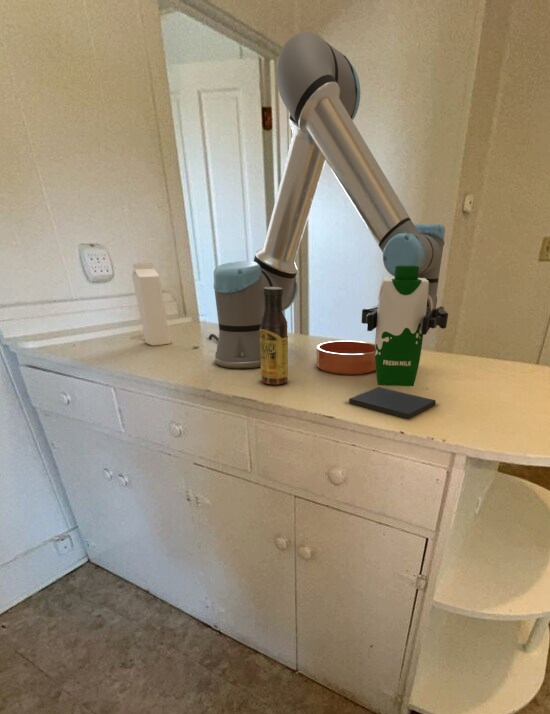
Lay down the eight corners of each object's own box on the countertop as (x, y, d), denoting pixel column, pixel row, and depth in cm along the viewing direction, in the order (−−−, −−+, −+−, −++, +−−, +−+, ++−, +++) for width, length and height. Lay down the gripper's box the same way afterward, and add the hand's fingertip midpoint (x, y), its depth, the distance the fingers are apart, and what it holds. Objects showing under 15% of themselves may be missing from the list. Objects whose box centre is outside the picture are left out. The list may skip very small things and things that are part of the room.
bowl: (304, 367, 112) (303, 347, 109) (342, 356, 122) (342, 338, 120) (354, 379, 103) (355, 357, 100) (390, 366, 114) (392, 346, 111)
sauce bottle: (256, 382, 100) (249, 287, 89) (275, 377, 104) (271, 285, 93) (274, 388, 96) (270, 289, 85) (294, 382, 100) (292, 287, 89)
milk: (145, 342, 136) (129, 263, 124) (163, 340, 139) (149, 262, 127) (152, 346, 132) (136, 263, 120) (171, 343, 135) (157, 263, 123)
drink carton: (372, 386, 81) (381, 266, 71) (372, 374, 89) (379, 264, 78) (419, 388, 81) (435, 267, 70) (414, 375, 88) (428, 264, 78)
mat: (348, 403, 88) (349, 398, 87) (378, 391, 95) (378, 386, 94) (408, 419, 80) (408, 414, 80) (435, 405, 87) (436, 400, 87)
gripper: (461, 329, 93) (456, 351, 75) (364, 324, 98) (337, 342, 80) (468, 291, 89) (464, 304, 70) (366, 287, 94) (338, 298, 76)
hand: (396, 324), depth 75 cm, fingers closed on drink carton, 9 cm apart
